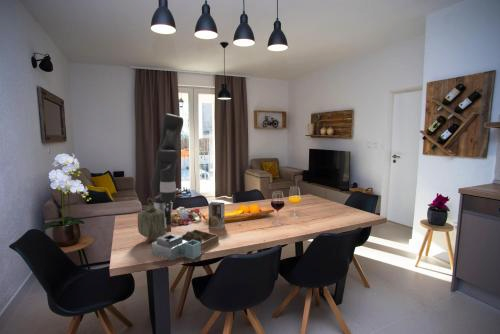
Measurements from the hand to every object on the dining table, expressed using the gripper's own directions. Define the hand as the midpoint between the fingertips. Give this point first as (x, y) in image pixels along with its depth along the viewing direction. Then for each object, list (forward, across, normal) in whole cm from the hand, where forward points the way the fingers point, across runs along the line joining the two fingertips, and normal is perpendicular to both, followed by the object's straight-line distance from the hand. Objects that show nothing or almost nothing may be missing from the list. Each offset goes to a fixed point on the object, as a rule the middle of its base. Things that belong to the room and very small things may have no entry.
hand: (168, 223), depth 138 cm
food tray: (+17, +55, -5) cm, 57 cm away
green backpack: (+16, +18, +11) cm, 27 cm away
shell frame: (+16, +10, -14) cm, 24 cm away
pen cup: (+16, -6, -12) cm, 20 cm away
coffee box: (+16, +35, -28) cm, 47 cm away
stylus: (+4, 0, 0) cm, 4 cm away
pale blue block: (+16, 0, 0) cm, 16 cm away
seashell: (+16, +9, -14) cm, 23 cm away
